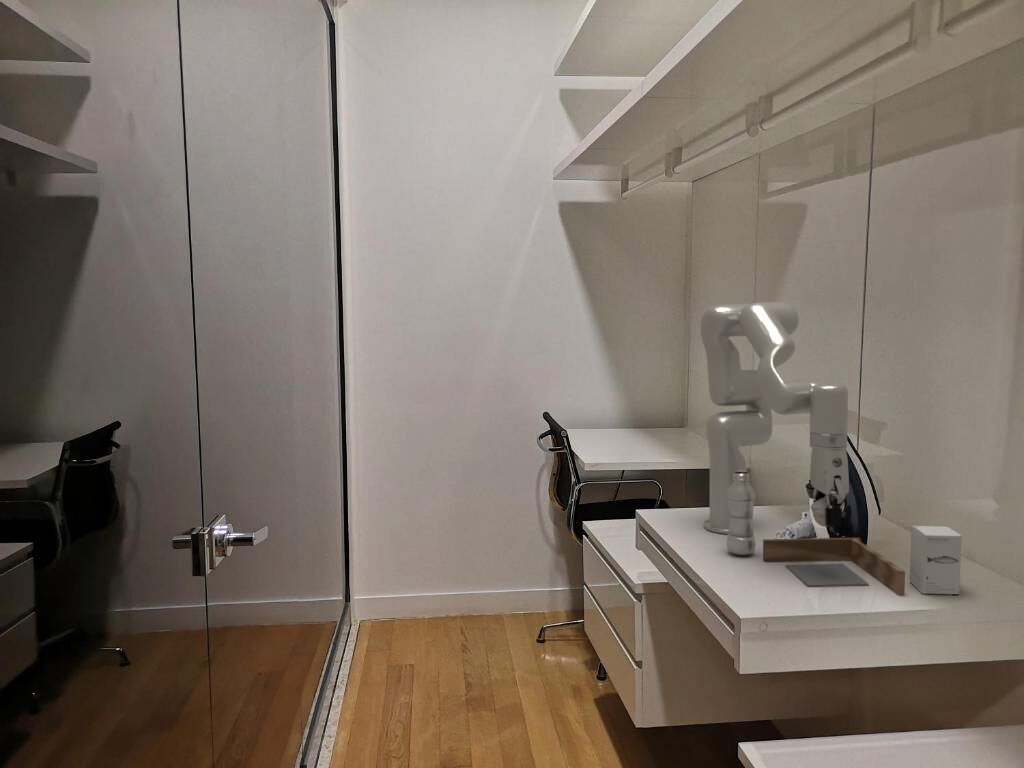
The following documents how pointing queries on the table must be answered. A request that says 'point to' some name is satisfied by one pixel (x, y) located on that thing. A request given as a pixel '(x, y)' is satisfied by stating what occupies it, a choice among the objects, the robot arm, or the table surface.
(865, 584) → the slate mat
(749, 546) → the plastic bottle
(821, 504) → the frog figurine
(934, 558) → the supplement box
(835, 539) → the corner walls
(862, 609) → the table surface
